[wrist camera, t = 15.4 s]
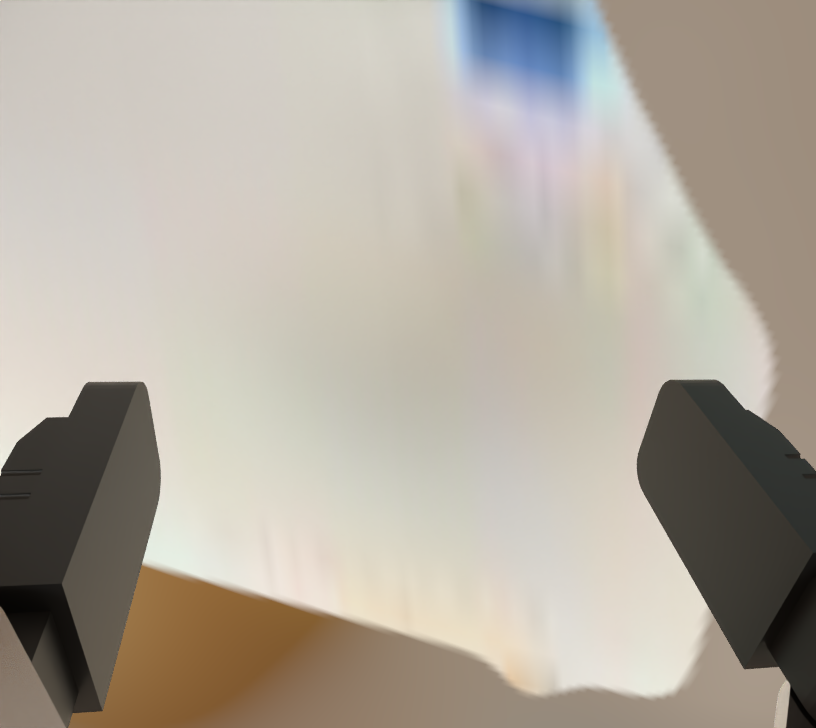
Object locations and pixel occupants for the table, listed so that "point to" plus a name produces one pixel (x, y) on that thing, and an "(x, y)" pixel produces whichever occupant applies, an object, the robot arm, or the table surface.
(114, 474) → the robot arm
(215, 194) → the table surface
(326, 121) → the table surface
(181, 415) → the table surface
